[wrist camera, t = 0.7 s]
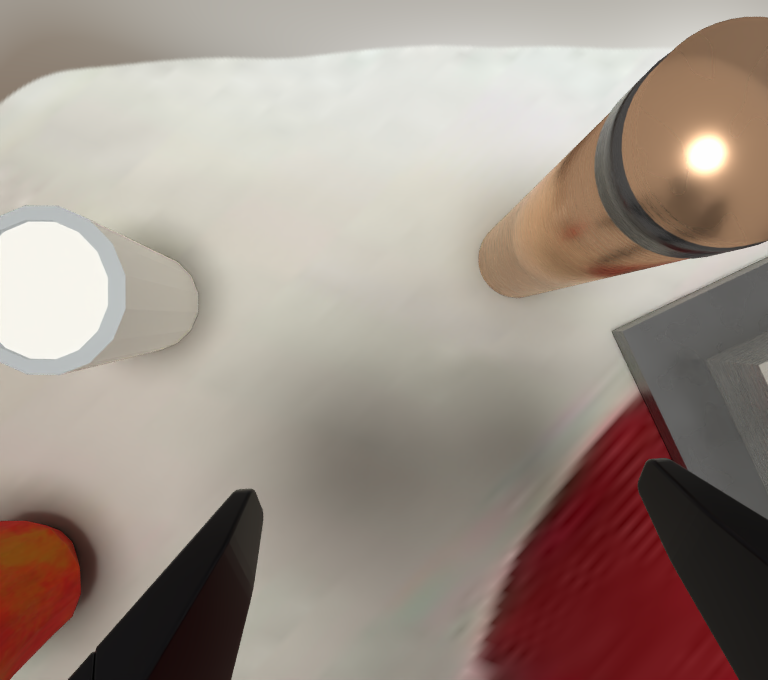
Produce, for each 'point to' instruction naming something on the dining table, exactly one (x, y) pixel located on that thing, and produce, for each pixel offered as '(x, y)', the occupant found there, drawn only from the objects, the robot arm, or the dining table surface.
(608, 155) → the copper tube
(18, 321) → the shot glass
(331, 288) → the dining table surface
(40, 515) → the dining table surface
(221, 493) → the dining table surface
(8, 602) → the apple
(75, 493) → the dining table surface
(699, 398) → the frame
